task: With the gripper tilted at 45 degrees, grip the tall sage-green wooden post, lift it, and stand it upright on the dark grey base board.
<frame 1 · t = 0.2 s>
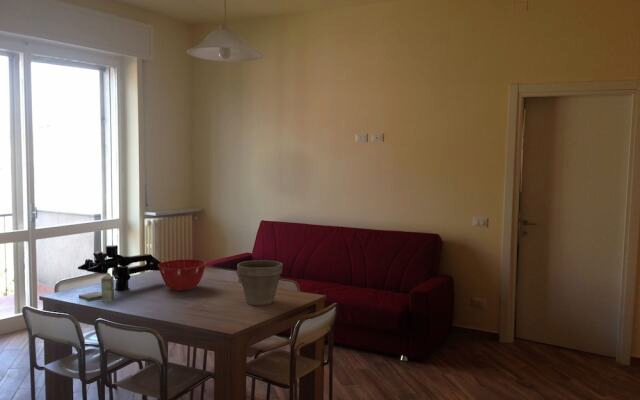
hand: (82, 269, 310), 17 cm above the table, tool horizontal, fingers open, 9 cm apart
mixing bowl: (182, 288, 336), on the table
green post: (108, 300, 307), on the table
plant pot: (260, 302, 305), on the table
base board: (93, 297, 313), on the table
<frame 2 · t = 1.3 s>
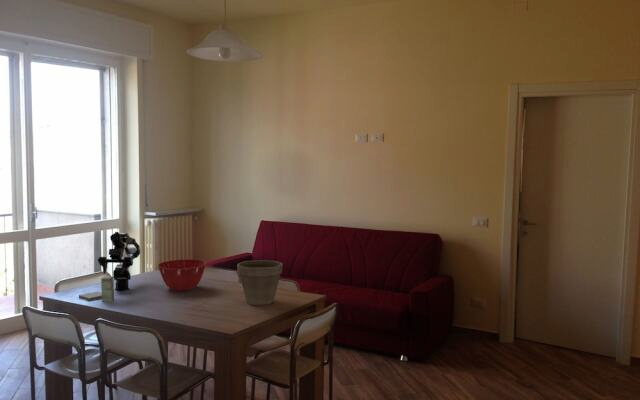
hand: (112, 273, 314), 13 cm above the table, tool tilted 45°, fingers open, 9 cm apart
nothing on the table moved.
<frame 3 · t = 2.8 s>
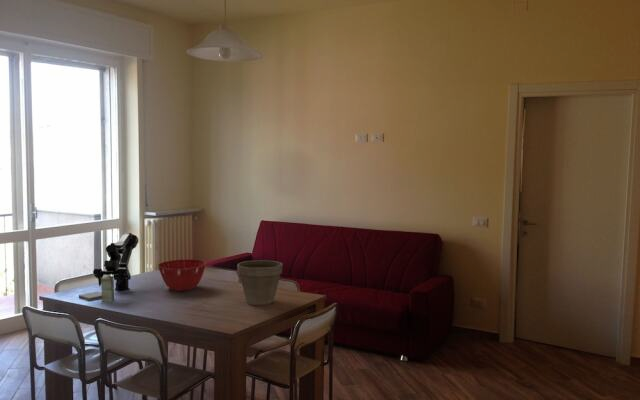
hand: (107, 285, 307), 8 cm above the table, tool tilted 45°, fingers open, 9 cm apart
nothing on the table moved.
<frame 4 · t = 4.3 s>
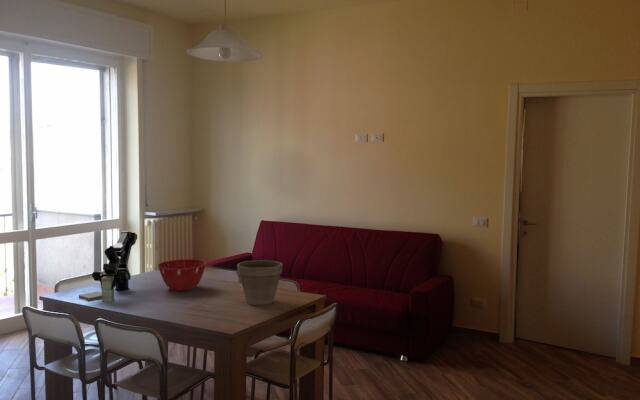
hand: (106, 289, 305), 7 cm above the table, tool tilted 45°, fingers closed on green post, 5 cm apart
green post: (108, 300, 307), on the table, touching gripper
everything else where it was.
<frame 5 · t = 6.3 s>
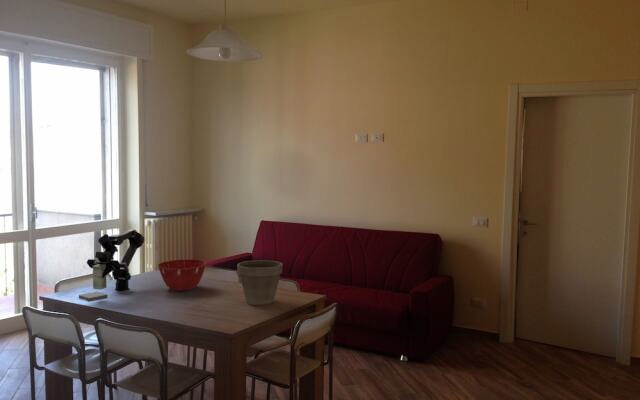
hand: (98, 277, 307), 13 cm above the table, tool tilted 45°, fingers closed on green post, 5 cm apart
green post: (99, 288, 309), point 6 cm above the table, touching gripper
everything else where it was.
when the fingers open (9 cm above the table, at t = 8.4 s): green post stays where it is, resting on base board.
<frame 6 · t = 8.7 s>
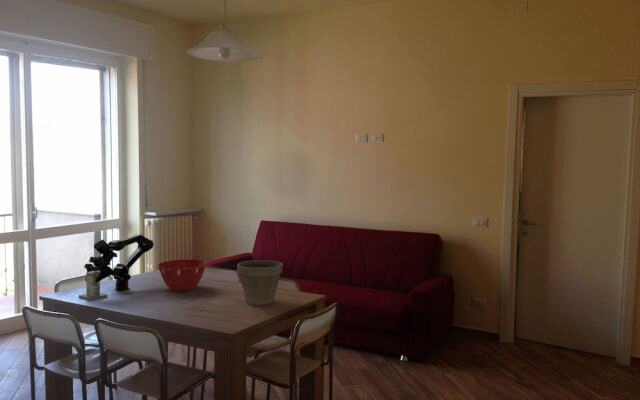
hand: (90, 281, 311), 9 cm above the table, tool tilted 45°, fingers open, 8 cm apart
green post: (93, 294, 313), point 2 cm above the table, touching base board
everything else where it was.
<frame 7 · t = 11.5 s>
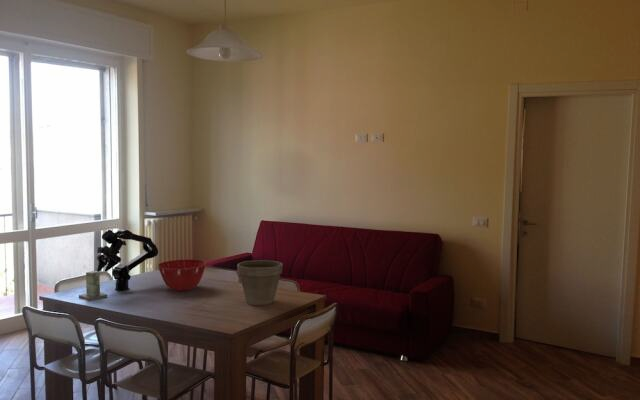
hand: (101, 271, 318), 14 cm above the table, tool tilted 40°, fingers open, 9 cm apart
nothing on the table moved.
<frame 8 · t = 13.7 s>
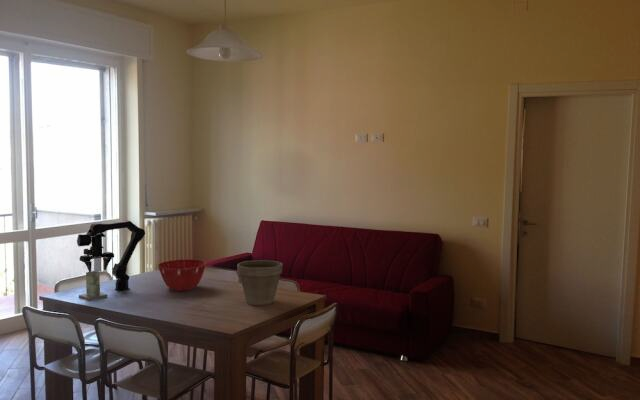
hand: (97, 271, 322), 13 cm above the table, tool pointing down, fingers open, 9 cm apart
nothing on the table moved.
at the end: green post inside the target area on the base board (0.1 cm from its centre), point 1.6 cm above the base board's base; green post tilted 0°; the gripper is holding nothing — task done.
